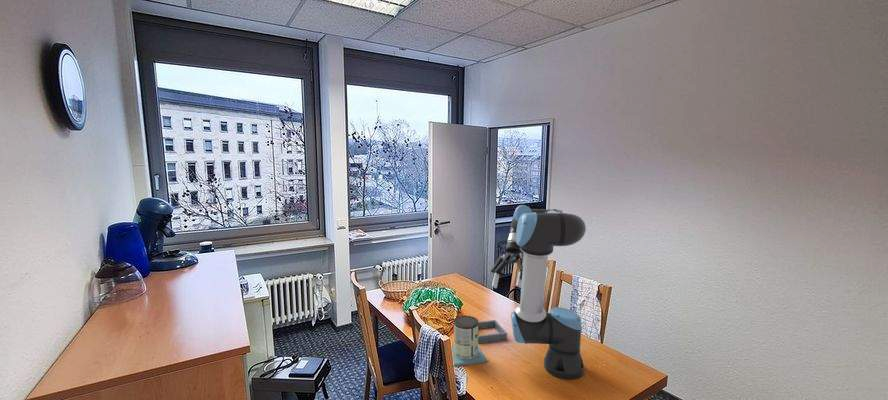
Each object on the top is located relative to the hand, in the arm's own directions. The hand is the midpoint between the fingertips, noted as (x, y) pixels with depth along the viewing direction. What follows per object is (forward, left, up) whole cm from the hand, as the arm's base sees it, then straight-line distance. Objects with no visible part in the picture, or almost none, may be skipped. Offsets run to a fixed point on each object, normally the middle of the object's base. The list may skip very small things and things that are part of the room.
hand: (505, 286), depth 158 cm
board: (-6, +20, -26) cm, 33 cm away
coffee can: (-6, +20, -25) cm, 33 cm away
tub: (+9, +5, -26) cm, 28 cm away
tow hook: (+32, +17, -26) cm, 45 cm away
